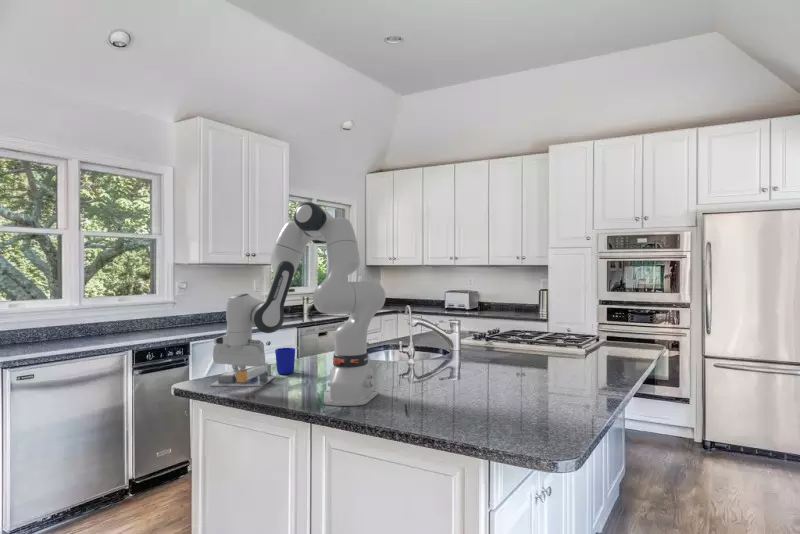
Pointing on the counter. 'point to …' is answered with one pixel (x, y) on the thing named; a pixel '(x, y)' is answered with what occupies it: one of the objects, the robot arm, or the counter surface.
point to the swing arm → (251, 373)
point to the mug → (285, 360)
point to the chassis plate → (231, 380)
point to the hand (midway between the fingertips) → (239, 377)
